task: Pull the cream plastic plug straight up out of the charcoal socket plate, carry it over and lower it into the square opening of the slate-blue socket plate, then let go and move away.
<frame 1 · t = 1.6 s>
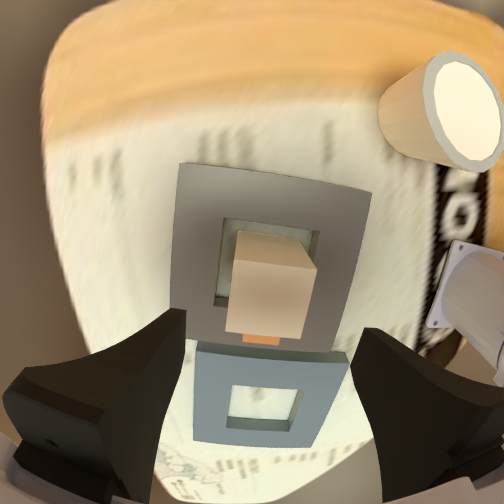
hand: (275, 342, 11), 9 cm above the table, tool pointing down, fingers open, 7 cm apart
cream tapered cup: (409, 120, 17), on the table
plug: (263, 262, 20), resting in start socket
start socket: (263, 262, 20), on the table
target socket: (262, 399, 24), on the table
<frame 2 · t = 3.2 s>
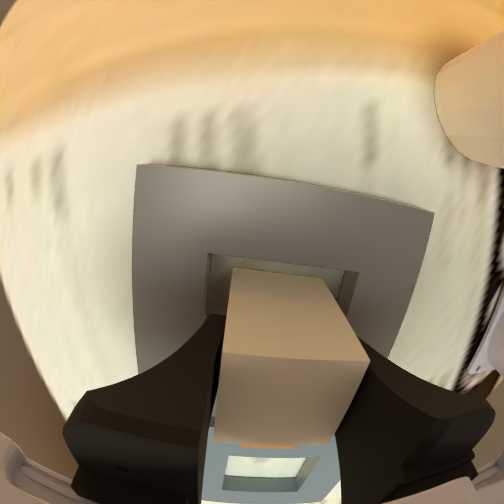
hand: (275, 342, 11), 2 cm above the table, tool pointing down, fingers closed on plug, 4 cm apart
cream tapered cup: (470, 110, 10), on the table
plug: (271, 312, 13), resting in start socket, touching gripper
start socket: (271, 313, 13), on the table
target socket: (266, 461, 17), on the table
when the fingers open (3 cm above the table, at t = 7.4 s): plug stays where it is, resting in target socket.
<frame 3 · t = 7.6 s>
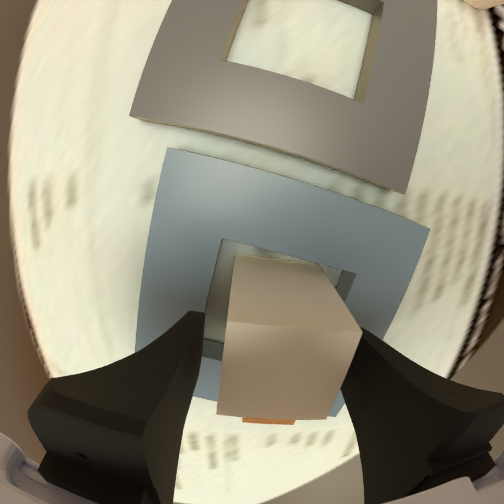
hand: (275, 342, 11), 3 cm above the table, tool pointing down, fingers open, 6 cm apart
plug: (271, 297, 14), resting in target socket
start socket: (304, 34, 10), on the table
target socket: (269, 303, 14), on the table
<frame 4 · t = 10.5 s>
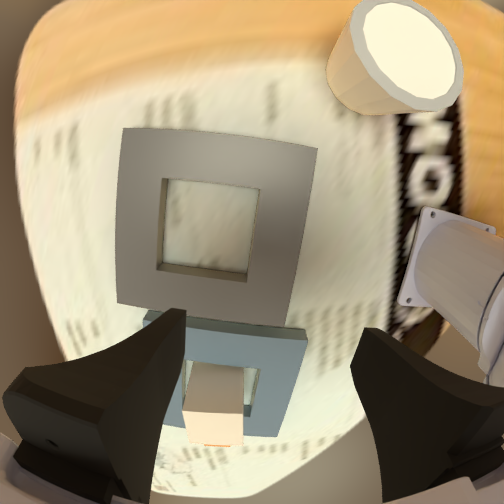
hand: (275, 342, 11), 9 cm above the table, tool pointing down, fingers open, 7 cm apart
cream tapered cup: (363, 78, 16), on the table
plug: (219, 376, 23), resting in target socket
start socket: (207, 226, 19), on the table
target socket: (219, 379, 23), on the table
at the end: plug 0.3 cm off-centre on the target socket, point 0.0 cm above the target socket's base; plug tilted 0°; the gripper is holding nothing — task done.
